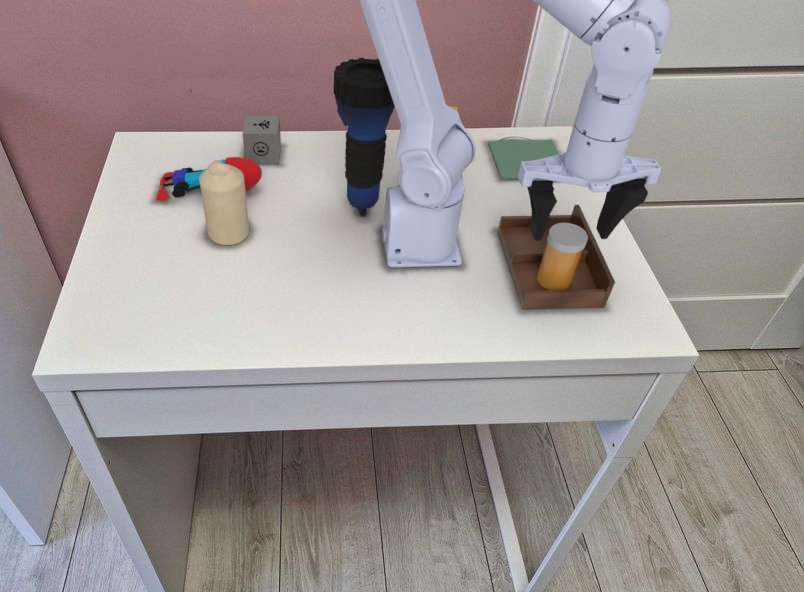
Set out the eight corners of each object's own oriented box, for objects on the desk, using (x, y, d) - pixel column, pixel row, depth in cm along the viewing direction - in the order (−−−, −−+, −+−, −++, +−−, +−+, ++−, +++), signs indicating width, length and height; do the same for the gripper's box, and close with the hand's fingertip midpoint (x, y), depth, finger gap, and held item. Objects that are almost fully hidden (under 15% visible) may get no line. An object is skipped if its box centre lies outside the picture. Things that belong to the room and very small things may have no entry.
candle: (256, 225, 93) (250, 160, 86) (239, 249, 90) (231, 184, 83) (219, 216, 95) (209, 151, 87) (200, 240, 91) (189, 175, 84)
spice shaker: (540, 292, 83) (554, 247, 78) (531, 268, 86) (545, 223, 81) (576, 291, 84) (592, 246, 78) (566, 267, 87) (581, 222, 81)
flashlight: (369, 188, 99) (377, 50, 85) (401, 218, 95) (415, 77, 80) (321, 205, 97) (321, 65, 82) (352, 236, 92) (357, 94, 77)
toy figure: (159, 213, 97) (263, 200, 95) (147, 182, 94) (254, 168, 92) (169, 186, 103) (268, 172, 101) (158, 156, 100) (260, 141, 98)
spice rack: (522, 309, 83) (530, 284, 80) (497, 231, 93) (503, 205, 90) (604, 307, 83) (615, 281, 80) (570, 230, 94) (579, 204, 90)
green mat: (501, 179, 101) (501, 177, 101) (488, 143, 108) (488, 140, 108) (568, 178, 102) (569, 176, 101) (551, 142, 108) (551, 139, 108)
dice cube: (278, 164, 103) (277, 134, 100) (245, 163, 103) (242, 133, 100) (281, 146, 107) (279, 116, 103) (248, 145, 107) (245, 115, 103)
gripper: (542, 150, 67) (514, 258, 77) (689, 147, 67) (642, 255, 77) (525, 112, 71) (501, 219, 82) (662, 110, 72) (622, 216, 82)
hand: (568, 234), depth 80 cm, fingers open, 7 cm apart
